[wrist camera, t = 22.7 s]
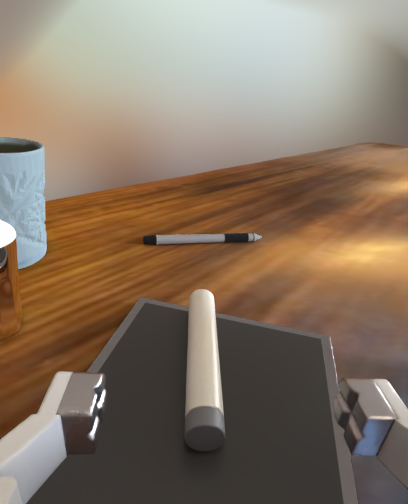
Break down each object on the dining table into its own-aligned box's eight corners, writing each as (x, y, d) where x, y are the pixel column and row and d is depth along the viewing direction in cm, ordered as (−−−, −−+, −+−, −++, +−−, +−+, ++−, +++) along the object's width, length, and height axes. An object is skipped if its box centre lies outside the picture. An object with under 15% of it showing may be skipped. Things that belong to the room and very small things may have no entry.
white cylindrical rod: (226, 425, 17) (214, 288, 29) (184, 425, 17) (189, 288, 29) (224, 452, 18) (213, 309, 30) (184, 452, 18) (189, 309, 30)
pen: (143, 242, 43) (143, 233, 43) (260, 239, 48) (262, 230, 47) (143, 247, 42) (144, 237, 42) (264, 243, 47) (266, 234, 46)
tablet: (439, 1044, 8) (456, 1049, 7) (-164, 736, 10) (-176, 729, 10) (327, 343, 29) (330, 334, 28) (140, 304, 31) (140, 296, 31)
